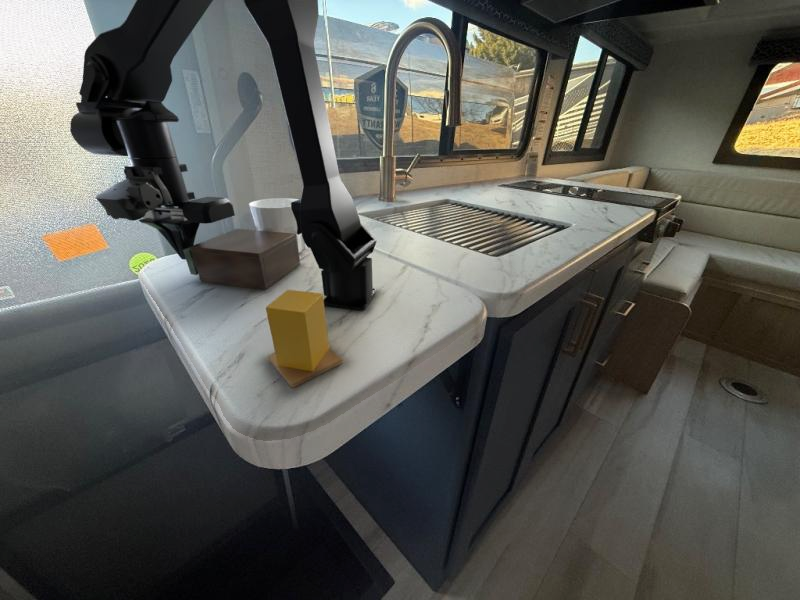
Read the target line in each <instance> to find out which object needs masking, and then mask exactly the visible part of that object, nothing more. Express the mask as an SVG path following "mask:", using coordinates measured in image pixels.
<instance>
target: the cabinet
mask: <svg viewBox="0 0 800 600" xmlns="http://www.w3.org/2000/svg"><path fill="white" fill-rule="evenodd" d="M190 249H191V251H192V255H193V259H194V262H195V265H196V268H197V271H198V274H197V276H198V278H199V281H200V283H206V284H212V285H213V284H215V285H223V286H230V287H231V286H232V287H239V288H246V289H247V288H248V289H254V290H255V289H256V290H262V291H263V290H264V291H267V290H268V289H270V288H271V287H272V286H274V285H275V284H276V283H278V282H279V281H281V280H282V279H284V278H285V277H286V276H287V275H289V274H290V273H291V272H293V271H294V270H296V269H297V268H299V267H300V266H301V260H300V253H299V252H298V245H297V238H296V234H294V233H282V232H270V231H258V230H257V229H245V228H234V229H232V230H230V231H228V232H224V233H222V234H219V235H217V236H214V237H212V238H209V239H207V240H204V241H201V242H199V243H195V244H194V245H193V246H190Z"/></svg>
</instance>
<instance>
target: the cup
mask: <svg viewBox="0 0 800 600" xmlns="http://www.w3.org/2000/svg"><path fill="white" fill-rule="evenodd" d="M297 200H300V199H298V198H291V197H275V198H274V197H273V198H262V199H258V200H253V201H251V202H249V203H248V206H249V209H250V213H251V216H252V219H253V222H254V226H255V228H256V229H255V230H258V231H270V232H282V233H294V234H296V238H297V245H298V252H299V254H300V253H301V252H303V251H305V250H306V244H305V242H304V240H303V238H302V233H301V234H299V235H298V234H297V223H296V219H295V217H294V214H293V212H292V209H291V203H292V202H294V201H297Z"/></svg>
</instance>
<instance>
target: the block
mask: <svg viewBox="0 0 800 600" xmlns="http://www.w3.org/2000/svg"><path fill="white" fill-rule="evenodd" d="M265 311H266V312H265V313H266V316H267V322H268V326H269V331H270V335H271V340H272V344H273V349H274V353H275V354H276V359H277V364H278V366H283V367H289V368H295V369H301V370H307V371H314V369H315V368H316V366H317V365H318V364H319V362H320V361H321V359H322V358H323V356H324V355H325V354H326V352H327V351H328V349H329V348H330V347H329V336H328V328H327V319H326V318H327V317H326V309H325V305H324V293H320V292H312V291H303V290H297V289H296V290H295V289H286V290H285V291H284V292H282V293H281V294H280V295H279V296H278V297H276V298H275V299H274V300H272V301H271V302H270V303H269V304H268V305H266V307H265Z"/></svg>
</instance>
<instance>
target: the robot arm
mask: <svg viewBox="0 0 800 600" xmlns="http://www.w3.org/2000/svg"><path fill="white" fill-rule="evenodd" d="M213 1H214V0H135V3H134V4H133V6H132V7H131V10H130V11H129V13H128V15H127V17H126V19H125V20H124V21H123V22H122V24H120V26H118V27H115V28H112V29H109V30H106V31H103V32H101V33H99V34H98V35H97V36H96V37H95V39H94V40H93V41H92V42H91V43H90V44H89V45H88V46H87V47H86V49H85V52H84V57H83V69H82V70H83V72H82V81H81V85H80V89H79V92H78V94H79V95H80V102H79V101H78V102H75V106H76V108H77V111H78V112H77V113H75V114H74V115H73V116H72V118H71V120H70V123H69V124H70V129H69V132H70V134H71V136H72V138H73V140H74V141H75V142H76V143H77V145H79V147H81V148H82V149H83V150H85V151H87V152H88V153H91V154H93V155H97V156H112V157H115V156H116V157H128V159H129V162H130V165H124V166H123V167H124V169H123V173H124V175H125V179H123V180H122V181H119V182H116V183H115V184H113V185H111V186H110V187H108V188H106V189H105V190H103V191H101V192H100V193H98V194H97V195H96V196H95V200H96V201H98V203H99V204H100V205H101V206H102V207H103V209H104V211H105V213H106V215H107V216H109V217H111V219H113V220H119V219H124V220H127V221H138V222H140V223H141V224H144V225H147V226H150V227H152V228H154V229H156V230H157V231H158V232H159V233H160V234H161V235H162V236H163V238H165V240H166V241H167V243H169V245H170V247H171V248H172V249H173V250H174V251H175V253H176V254H177V255H178V257H179V258H180V259H181V260H183V261H184V260H185V261H186V258H185V255H184V252H183V250H184V249H187V248H189V247H190V246H193V245H195V242H196V241H195V240H196V236H197V232H198V230H199V228H200V224H203V225H205V224H206V225H207V224H213V223H216V222H219V221H222V220H225V219H228V218H232V217H234V216H236V213H235V210H234V205H233V202H232V201H230V200H229V199H228V198H227V197H220V196H204V197H199V198H196V196H195V192H194V191H188V190H187V185H186V183H185V180H184V176H183V173H185V172H188V171H189V170H188V166H187V164H186V163H180V162H179V159H178V156H177V152H176V149H175V145H174V141H173V138H172V135H171V131H170V127H169V125H168V123H178V122H179V121H180V118H179V117H178V116H177V115H176V114H175V113H174V112H172V111H171V110H169V109H168V107H166V106H165V105H164V104H163V102H164V101H165V99H166V97H167V94H168V92H169V89H170V87H171V85H172V83H173V73H172V72H173V71H172V62H173V61H174V58H175V56H176V55H177V54H178V52H179V51H180V49H181V48H182V46H183V45H184V43H185V42H186V41H187V39H188V38H189V36H190V35H191V33H192V32H193V31H194V29H195V27H196V26H197V24H198V23H199V21H200V20H201V18H202V17H203V16H204V14H205V13H206V11H207V10H208V9H209V7H210V6H211V5H212V3H213ZM242 1H243V4H244V6H245V8H246V10H247V12H248V13H249V15H250V17H251V18H252V20H253V21H254V24H255V25H256V26H257V28H258V30H259V31H260V33H261V35H262V36H263V38H264V40H265V41H266V43H267V46H268V48H269V52H270V56H271V60H272V63H273V67H274V72H275V76H276V80H277V83H278V88H279V92H280V96H281V100H282V105H283V108H284V113H285V117H286V120H287V124H288V128H289V133H290V137H291V141H292V146H293V149H294V153H295V158H296V161H297V165H298V170H299V174H300V177H301V181H302V191H301V195H300V196H301V197H300V199H299V200H297V201H294V202H292V203H291V209H292V212H293V214H294V217H295V219H296V223H297V234H298V235H299V234H301V233H302V238H303V240H304V242H305V246H306V247H307V248H308V249H310V251H311V253H312V255H313V257H314V260H315V262H316V265H317V266H318V269H320V270H321V272H320V273H321V282H322V283H321V284H322V292H323V293H322V294H323V297H324V298H323V300H324V307H333V308H341V309H349V310H355V311H356V310H357V311H364V310H366V308H367V307H368V306H369V304H370V302H371V301H372V299H373V298H374V297H375V295H376V293H377V288H376V287H373V285H374V284H373V258H372V257H368V256H369V255H370V254H372V253H374V250H375V246H376V245H377V239H376V238H375V237H374V235H372V233H370V231H369V230H368V229H367V228H366V227H365V226H364V225H363V224H362V222H361V220H360V219H361V218H360V216H359V213H358V210H357V207H356V205H355V201H354V199H353V197H352V195H351V194H350V192H349V190H348V189H347V187H346V186H345V184H344V182H343V181H342V179H341V176H340V171H339V166H338V161H337V156H336V151H335V145H334V139H333V136H332V131H331V126H330V121H329V120H330V119H329V115H328V111H327V105H326V99H325V94H324V90H323V89H324V88H323V84H322V80H321V73H320V69H319V64H318V59H317V53H316V48H315V40H316V35H317V29H318V23H319V18H320V17H319V16H320V12H319V0H242Z"/></svg>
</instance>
